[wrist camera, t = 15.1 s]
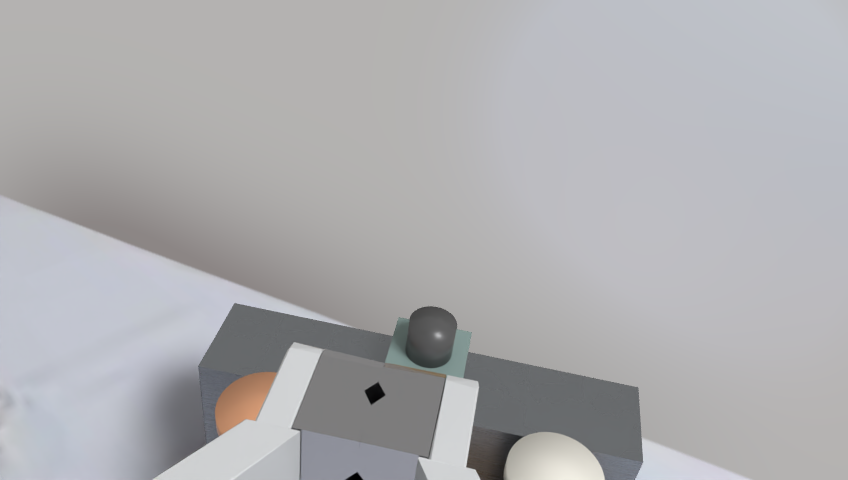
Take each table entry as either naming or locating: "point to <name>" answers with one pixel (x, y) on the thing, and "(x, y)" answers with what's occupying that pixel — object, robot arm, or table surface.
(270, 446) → the robot arm
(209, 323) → the table surface
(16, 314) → the table surface
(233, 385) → the orange-capped knob
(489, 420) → the mount
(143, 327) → the table surface
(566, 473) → the cream-capped knob
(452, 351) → the potentiometer
